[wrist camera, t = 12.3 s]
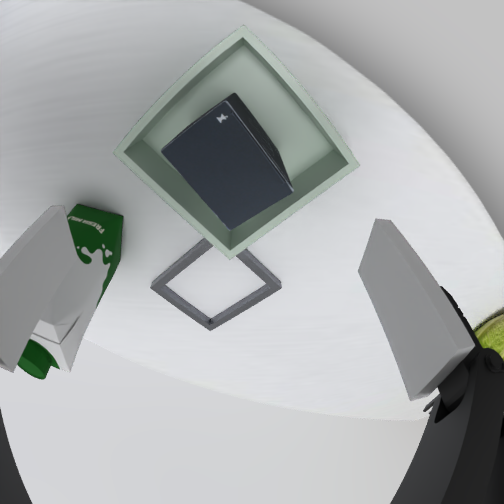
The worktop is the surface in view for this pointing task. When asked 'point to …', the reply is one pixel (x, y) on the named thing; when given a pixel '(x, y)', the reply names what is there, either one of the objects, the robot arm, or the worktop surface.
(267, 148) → the box
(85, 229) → the milk carton
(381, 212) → the worktop surface
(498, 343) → the lettuce
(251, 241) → the bin
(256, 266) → the collar
